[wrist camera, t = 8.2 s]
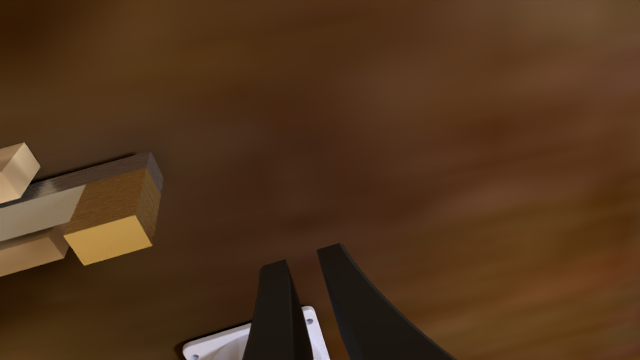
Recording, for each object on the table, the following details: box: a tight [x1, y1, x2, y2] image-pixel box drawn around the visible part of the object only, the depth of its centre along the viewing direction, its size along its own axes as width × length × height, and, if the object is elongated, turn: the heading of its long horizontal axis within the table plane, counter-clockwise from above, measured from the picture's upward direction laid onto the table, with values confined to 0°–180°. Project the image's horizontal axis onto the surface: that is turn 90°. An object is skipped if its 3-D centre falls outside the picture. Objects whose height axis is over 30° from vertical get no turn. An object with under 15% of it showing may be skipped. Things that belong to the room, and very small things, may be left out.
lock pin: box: [0, 151, 164, 266], centre depth 17 cm, size 1×11×5 cm, turn 101°
